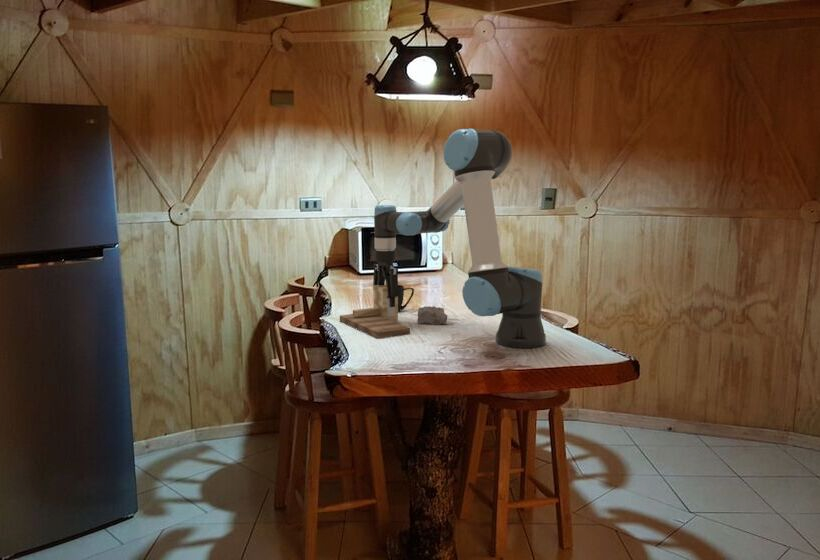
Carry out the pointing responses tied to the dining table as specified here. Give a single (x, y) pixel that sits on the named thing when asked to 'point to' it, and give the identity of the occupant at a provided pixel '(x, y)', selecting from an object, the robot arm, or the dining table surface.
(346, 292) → the dining table surface
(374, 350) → the dining table surface
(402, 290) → the mug
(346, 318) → the board
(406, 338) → the dining table surface
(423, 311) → the stone
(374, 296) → the beige block with bar
